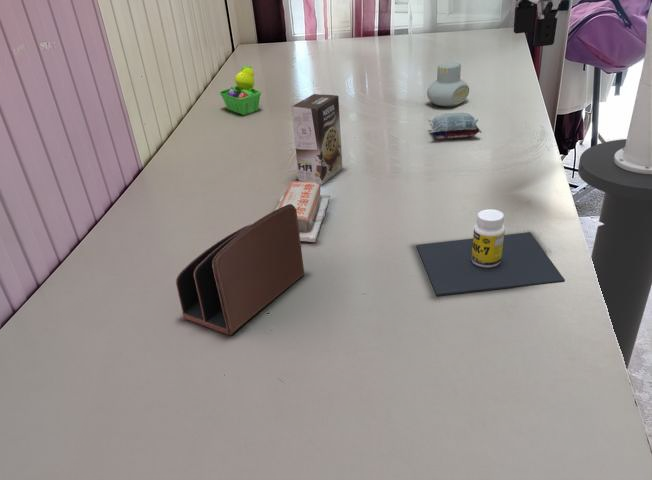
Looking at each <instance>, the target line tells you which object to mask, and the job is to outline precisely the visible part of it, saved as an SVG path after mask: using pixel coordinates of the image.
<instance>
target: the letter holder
mask: <svg viewBox="0 0 652 480" xmlns="http://www.w3.org/2000/svg"><path fill="white" fill-rule="evenodd" d="M301 244H302V243H301V241H300V234H299V226H298V219H297V211H296V208H295V207H294V206H293V205H292V204H289V205H286V206H283V207H281V208H279V209H277V210H276V209H275V210H273V211H271V212H269V213H268V214H266V215H264V216H262V217H261V218H260V219H257V220H256V221H255V222H254V223H252V224H248V225H245V226H243V227H241V228H239V229H238V230H236V231H234V232H232V233H230V234H228V235H226V236H225V237H224V238H222V239H220V240H219V241H218V242H216V243H214V244H213V245H212V246H210V247H209V248H207V249H206V250H205V251H203V252H202V253H200V254H199V255H198V256H196V258H194V259H193V260H192V261H190V263H188V264H187V265H186V266H185V267H184V268H183V269H182V270H181V271H180V272H179V273H178V275H177V276H176V279H175V285H176V290H177V294H178V299H179V303H180V307H181V312H182V317H183V319H184V320H188V321H190V322H193V323H196V324H198V325H201V326H204V327H205V328H206V327H207V328H209V329H211V330H215V331H217V332H220V333H222V334H225V335H227V336H232V335H233V334H234V333H235V332H237V330H239V329H240V328H241V327H242V326H243V325H245V324H246V323H247V322H248V321H249V320H250V319H252V318H253V317H254V316H255V315H256V314H258V313H259V312H260V311H262V310H263V309H264V308H265V307H267V306H268V305H269V304H270V303H272V302H273V301H274V300H275V299H277V298H278V297H279V296H280V295H281V294H282V293H284V292H285V291H286V290H288V288H290V287H291V286H292V285H294V283H296V282H297V281H298V280H299V279H301V278H302V277H303V276H304V275H305V267H304V261H303V260H304V259H303V252H302V245H301Z"/></svg>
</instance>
